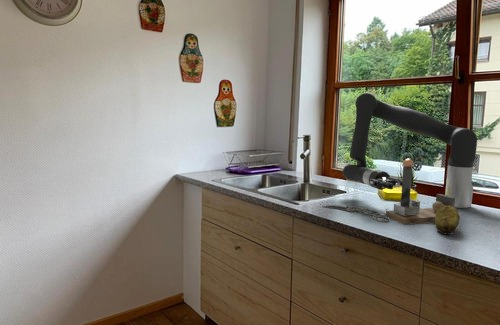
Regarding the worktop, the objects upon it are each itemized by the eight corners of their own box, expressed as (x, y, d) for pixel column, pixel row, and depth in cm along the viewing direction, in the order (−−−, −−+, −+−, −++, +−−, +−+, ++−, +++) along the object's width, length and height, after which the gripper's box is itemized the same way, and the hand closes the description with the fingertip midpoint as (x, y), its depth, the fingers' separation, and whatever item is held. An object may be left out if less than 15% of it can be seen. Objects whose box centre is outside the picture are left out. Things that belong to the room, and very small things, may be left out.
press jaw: (405, 210, 138) (409, 157, 135) (419, 215, 131) (423, 159, 128) (392, 211, 136) (396, 157, 133) (405, 216, 129) (409, 160, 127)
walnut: (438, 210, 140) (439, 200, 139) (446, 212, 136) (447, 202, 136) (429, 210, 139) (430, 200, 138) (437, 213, 135) (438, 203, 134)
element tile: (383, 200, 164) (383, 190, 164) (376, 193, 179) (377, 184, 179) (418, 202, 162) (418, 192, 162) (408, 195, 177) (409, 185, 176)
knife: (321, 205, 150) (336, 200, 156) (321, 208, 150) (336, 204, 156) (383, 222, 128) (398, 216, 134) (382, 226, 128) (398, 220, 134)
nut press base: (435, 212, 144) (436, 192, 143) (457, 220, 134) (459, 199, 132) (385, 216, 138) (386, 195, 137) (404, 224, 127) (406, 202, 126)
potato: (425, 231, 120) (427, 208, 119) (438, 224, 129) (440, 202, 128) (453, 238, 114) (455, 213, 113) (464, 229, 123) (467, 206, 122)
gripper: (361, 170, 147) (386, 177, 132) (391, 169, 151) (419, 175, 136) (360, 188, 148) (384, 197, 133) (390, 187, 152) (417, 195, 137)
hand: (402, 186), depth 134 cm, fingers open, 8 cm apart
